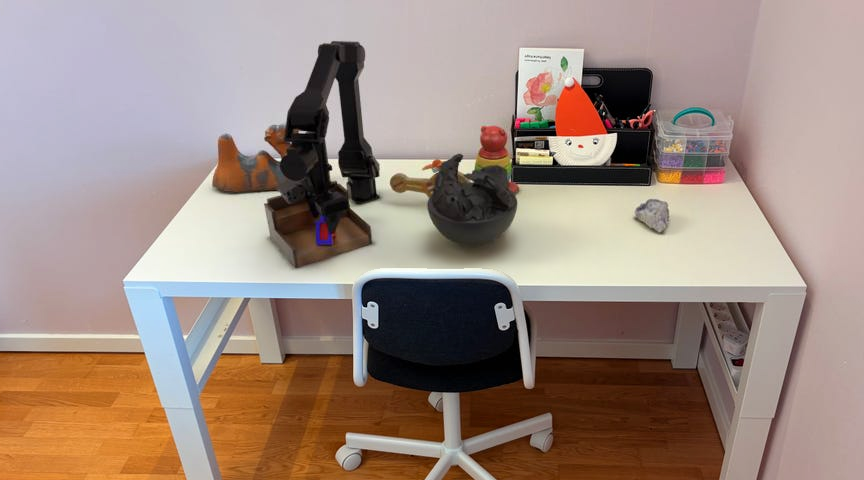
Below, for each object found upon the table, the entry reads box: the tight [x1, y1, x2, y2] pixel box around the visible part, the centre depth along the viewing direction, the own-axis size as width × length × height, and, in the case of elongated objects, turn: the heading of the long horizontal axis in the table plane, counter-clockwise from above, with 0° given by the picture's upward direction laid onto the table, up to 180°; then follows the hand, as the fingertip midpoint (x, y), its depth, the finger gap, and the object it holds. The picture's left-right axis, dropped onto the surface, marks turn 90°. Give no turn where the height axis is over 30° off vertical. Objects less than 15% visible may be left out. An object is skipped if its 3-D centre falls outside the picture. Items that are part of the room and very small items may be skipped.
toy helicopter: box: [389, 158, 471, 199], centre depth 178 cm, size 8×21×14 cm, turn 73°
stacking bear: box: [474, 125, 520, 195], centre depth 183 cm, size 11×10×18 cm
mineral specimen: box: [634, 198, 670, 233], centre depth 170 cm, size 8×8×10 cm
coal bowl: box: [426, 153, 518, 247], centre depth 162 cm, size 20×20×19 cm
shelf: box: [263, 180, 373, 269], centre depth 166 cm, size 19×16×10 cm
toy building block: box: [316, 216, 336, 245], centre depth 163 cm, size 4×4×8 cm
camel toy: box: [211, 121, 300, 194], centre depth 190 cm, size 25×13×17 cm, turn 82°
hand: (323, 225), depth 163 cm, fingers open, 9 cm apart
